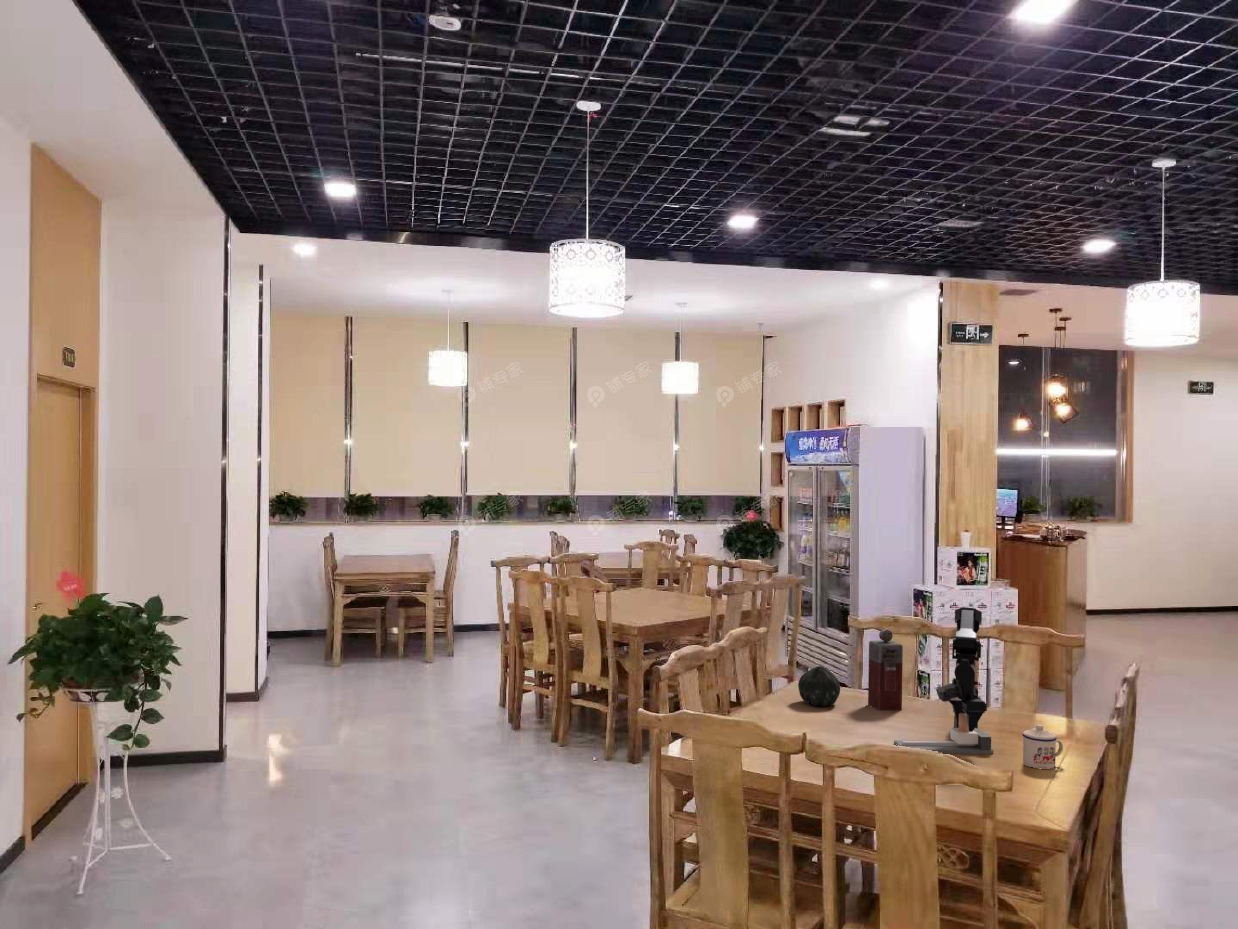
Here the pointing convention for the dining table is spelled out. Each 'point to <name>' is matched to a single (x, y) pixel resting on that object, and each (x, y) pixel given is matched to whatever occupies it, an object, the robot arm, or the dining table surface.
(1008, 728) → the dining table surface
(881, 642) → the square decanter bottle
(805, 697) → the squash
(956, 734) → the keeper
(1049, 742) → the teacup with lid
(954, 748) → the track
